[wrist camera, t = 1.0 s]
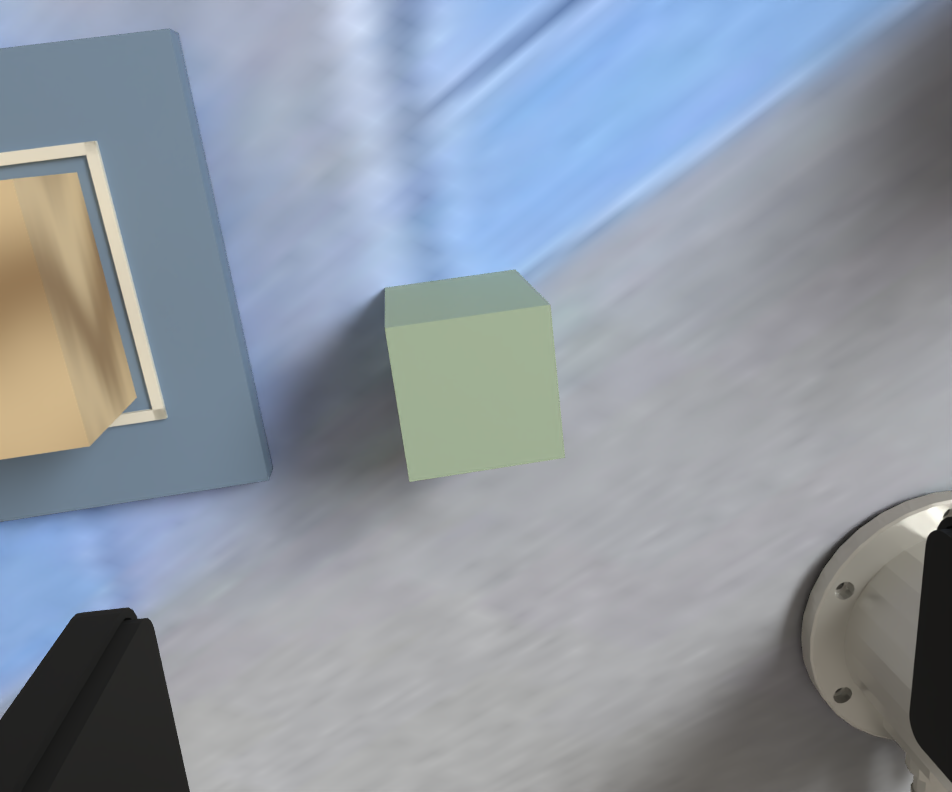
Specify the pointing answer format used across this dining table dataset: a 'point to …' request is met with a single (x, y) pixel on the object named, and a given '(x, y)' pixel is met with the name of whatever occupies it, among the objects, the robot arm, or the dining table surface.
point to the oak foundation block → (55, 322)
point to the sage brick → (473, 374)
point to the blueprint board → (137, 271)
